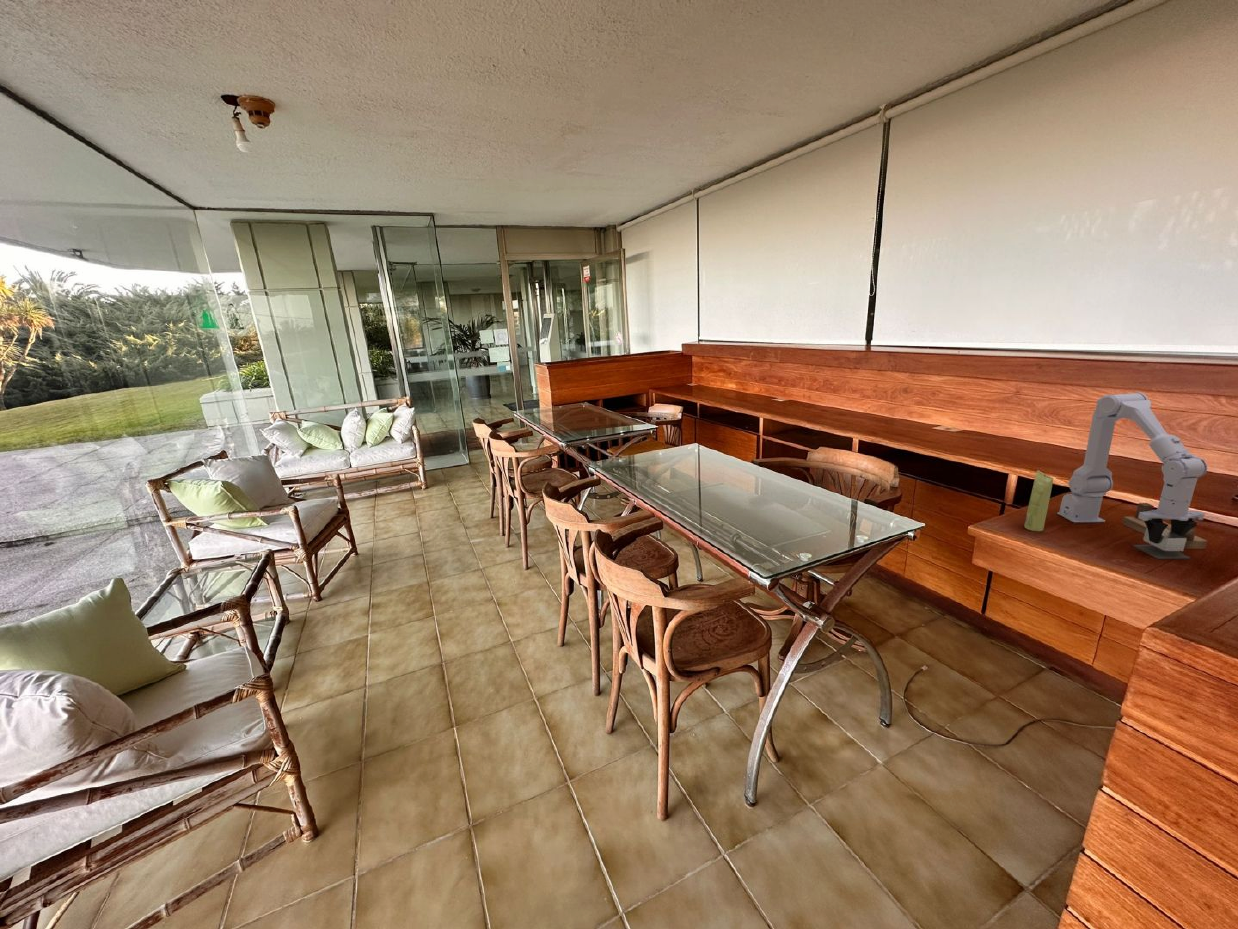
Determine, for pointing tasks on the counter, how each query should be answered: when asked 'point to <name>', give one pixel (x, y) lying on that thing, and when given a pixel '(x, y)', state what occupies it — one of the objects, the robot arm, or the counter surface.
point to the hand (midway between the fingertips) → (1163, 541)
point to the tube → (1039, 502)
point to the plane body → (1140, 526)
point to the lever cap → (1168, 541)
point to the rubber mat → (1160, 552)
